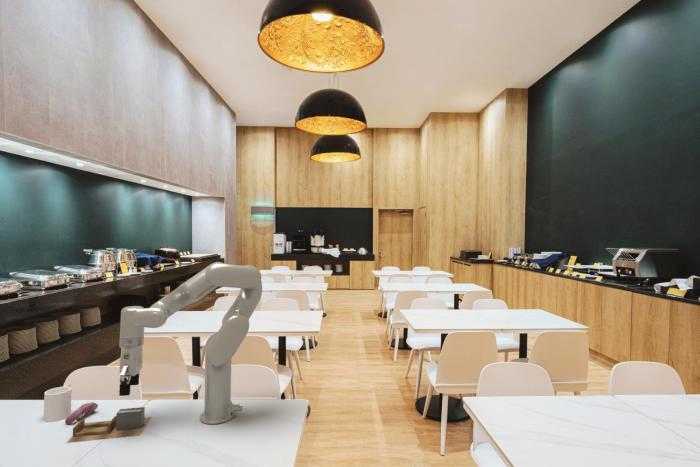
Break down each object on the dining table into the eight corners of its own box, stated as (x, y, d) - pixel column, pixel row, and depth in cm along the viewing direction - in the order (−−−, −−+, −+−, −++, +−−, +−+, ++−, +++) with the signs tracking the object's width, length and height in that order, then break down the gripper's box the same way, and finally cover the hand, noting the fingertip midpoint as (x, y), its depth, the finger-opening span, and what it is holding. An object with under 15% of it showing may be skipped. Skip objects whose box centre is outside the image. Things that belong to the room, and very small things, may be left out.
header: (151, 419, 143) (151, 408, 143) (139, 438, 129) (140, 426, 129) (85, 425, 138) (85, 414, 138) (65, 445, 124) (66, 433, 124)
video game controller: (71, 429, 138) (79, 413, 138) (62, 423, 139) (70, 406, 138) (95, 417, 148) (102, 402, 147) (86, 411, 149) (93, 395, 148)
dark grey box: (144, 423, 138) (144, 406, 138) (141, 428, 134) (141, 410, 134) (119, 426, 136) (120, 408, 136) (116, 430, 132) (116, 412, 133)
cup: (81, 407, 153) (82, 382, 153) (61, 421, 141) (62, 394, 141) (59, 408, 152) (60, 383, 152) (38, 422, 140) (38, 395, 140)
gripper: (135, 347, 128) (133, 399, 128) (150, 335, 145) (147, 380, 144) (110, 348, 126) (108, 400, 126) (128, 336, 143) (126, 381, 143)
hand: (129, 389), depth 135 cm, fingers open, 9 cm apart
